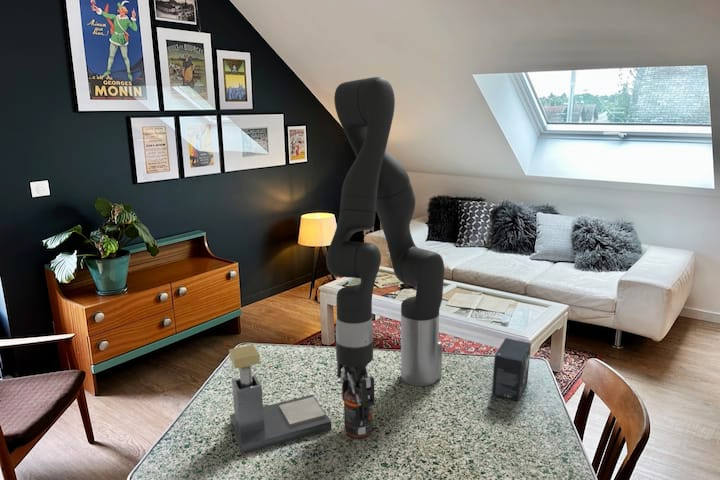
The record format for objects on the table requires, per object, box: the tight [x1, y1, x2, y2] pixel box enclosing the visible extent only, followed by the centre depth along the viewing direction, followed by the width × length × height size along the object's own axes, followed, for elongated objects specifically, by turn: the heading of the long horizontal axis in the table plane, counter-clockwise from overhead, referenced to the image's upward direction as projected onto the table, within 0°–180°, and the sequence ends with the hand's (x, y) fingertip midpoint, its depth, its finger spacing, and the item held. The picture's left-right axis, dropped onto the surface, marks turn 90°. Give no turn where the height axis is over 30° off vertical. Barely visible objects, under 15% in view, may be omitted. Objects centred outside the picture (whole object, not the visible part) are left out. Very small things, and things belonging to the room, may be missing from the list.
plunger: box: [228, 344, 261, 389], centre depth 112 cm, size 5×5×12 cm
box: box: [491, 337, 532, 402], centre depth 130 cm, size 11×7×10 cm, turn 152°
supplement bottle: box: [343, 383, 374, 439], centre depth 115 cm, size 6×6×11 cm
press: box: [229, 374, 332, 455], centre depth 117 cm, size 19×12×12 cm, turn 114°
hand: (355, 409), depth 115 cm, fingers open, 8 cm apart
